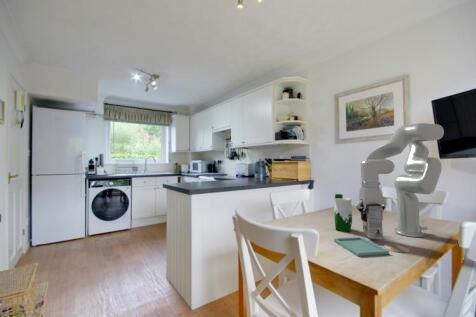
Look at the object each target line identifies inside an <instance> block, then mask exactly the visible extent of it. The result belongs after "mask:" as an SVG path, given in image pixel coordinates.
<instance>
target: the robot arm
mask: <svg viewBox="0 0 476 317" xmlns="http://www.w3.org/2000/svg"><path fill="white" fill-rule="evenodd" d="M444 130H445V129H444V127H443V126H442V125H440V124H437V123H426V122H425V123H424V122H421V123H412V124H406V125H405V124H404V125H401V126H399V127H398V128H397V129H396V130H395V131H394V133H393V134H392V136H391V137H390V138H389V139H388V140H387V142H386V143H385V144H383V145H380V146H379V147H377V148H376V149H374V150H372V151H371V153H370V152H369V154H368V156H367V157H366V158H365V159H364V160H362V161H360V178H361V187H359V188H360V189H359V194H358V202H357V203H356V204H355V205H354V206H355V208H356V209H357V211H358V212H359V213H360V219H361V221H362V222H363V221H365V222H367V214H366V208H367V205H371V204H380V205H381V207H382V213H384V211H385V209H386V207H387V205H388V202H386V201H385V200H383V194H382V190H381V189H382V188H381V187H380V185H381V181H380V177H379V175H388V174H391V173H393V172H394V171H395V163H394V162H393V161H392V160H390V159H387V158H391V157H395V156H397V155H400V154H402V153H403V152H404V151H405V150H406V148H407V147H408V146H409V152H408V155H407V158H406V160H405V163H404V166H403V170H404V172H405V173H406V174H399V175H398V176H396V177H395V179H394V182H393V183H394V189H395V192H396V216H397V218H396V220H397V221H396V222H397V228H394V230H393V231H394V233H396V234H398V235H401V236H405V237H412V238H422V237H424V232H422V231H426V230H428V226H426V225H421V224H420V200H419V198H418V196H417V195H416V194H419V195H431V194H433V193H434V191H435V190H436V188H437V185H438V182H439V179H440V176H441V173H442V170H443V169H442V167H443V166H442V162H441V160H440V159H439V158H437V157H434V156H433V157H432V156H429V154H430V150H429V148H428V147H427V146H426V145H425V144H424V143H423V142H430V141H431V142H433V141H438V140H440V139H441V140H442V138H443V136H444V134H445V131H444ZM383 219H384V217H383V215H382V221H383Z"/></svg>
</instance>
